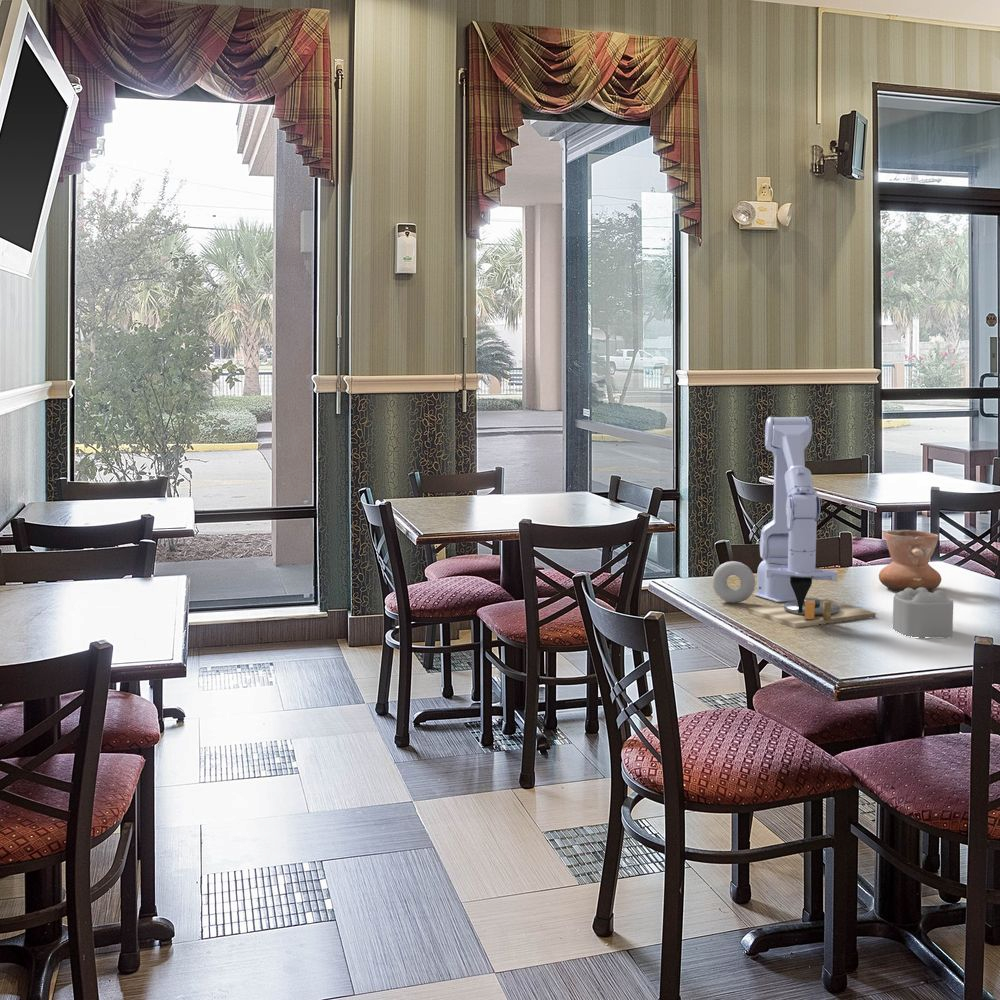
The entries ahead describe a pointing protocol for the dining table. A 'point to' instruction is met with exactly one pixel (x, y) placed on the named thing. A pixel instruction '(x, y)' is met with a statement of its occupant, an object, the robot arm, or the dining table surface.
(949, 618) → the lumpy-topped squat cylinder
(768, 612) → the board
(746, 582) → the donut
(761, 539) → the robot arm
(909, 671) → the dining table surface
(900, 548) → the ceramic jug
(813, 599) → the flange plate
